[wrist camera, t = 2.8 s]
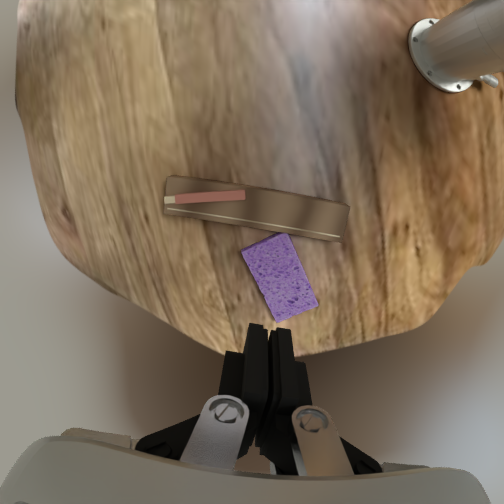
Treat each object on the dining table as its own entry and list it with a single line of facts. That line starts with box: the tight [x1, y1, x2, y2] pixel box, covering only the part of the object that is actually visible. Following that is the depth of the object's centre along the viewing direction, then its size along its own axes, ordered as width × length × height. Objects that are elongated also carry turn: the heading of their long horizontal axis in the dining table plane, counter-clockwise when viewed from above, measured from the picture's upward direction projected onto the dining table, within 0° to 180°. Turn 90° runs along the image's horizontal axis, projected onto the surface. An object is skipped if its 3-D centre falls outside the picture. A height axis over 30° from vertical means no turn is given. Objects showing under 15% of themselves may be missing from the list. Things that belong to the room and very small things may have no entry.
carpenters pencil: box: [164, 190, 246, 204], centre depth 38 cm, size 10×1×1 cm, turn 93°
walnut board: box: [164, 175, 350, 243], centre depth 40 cm, size 24×5×3 cm, turn 81°
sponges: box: [241, 232, 318, 323], centre depth 44 cm, size 7×13×2 cm, turn 25°
